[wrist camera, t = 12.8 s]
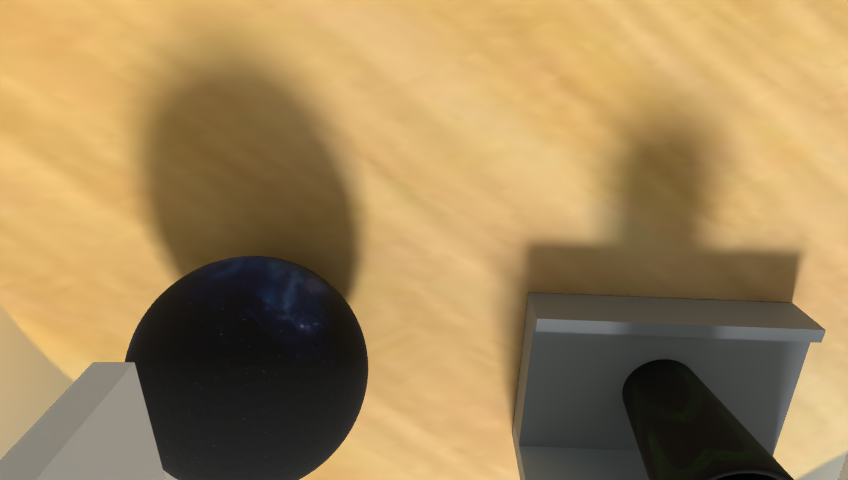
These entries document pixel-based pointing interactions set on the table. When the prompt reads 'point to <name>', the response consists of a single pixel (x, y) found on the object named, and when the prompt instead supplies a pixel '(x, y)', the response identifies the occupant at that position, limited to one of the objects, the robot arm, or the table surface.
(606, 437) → the shelf
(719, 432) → the cup
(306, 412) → the decorative sphere
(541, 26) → the table surface
